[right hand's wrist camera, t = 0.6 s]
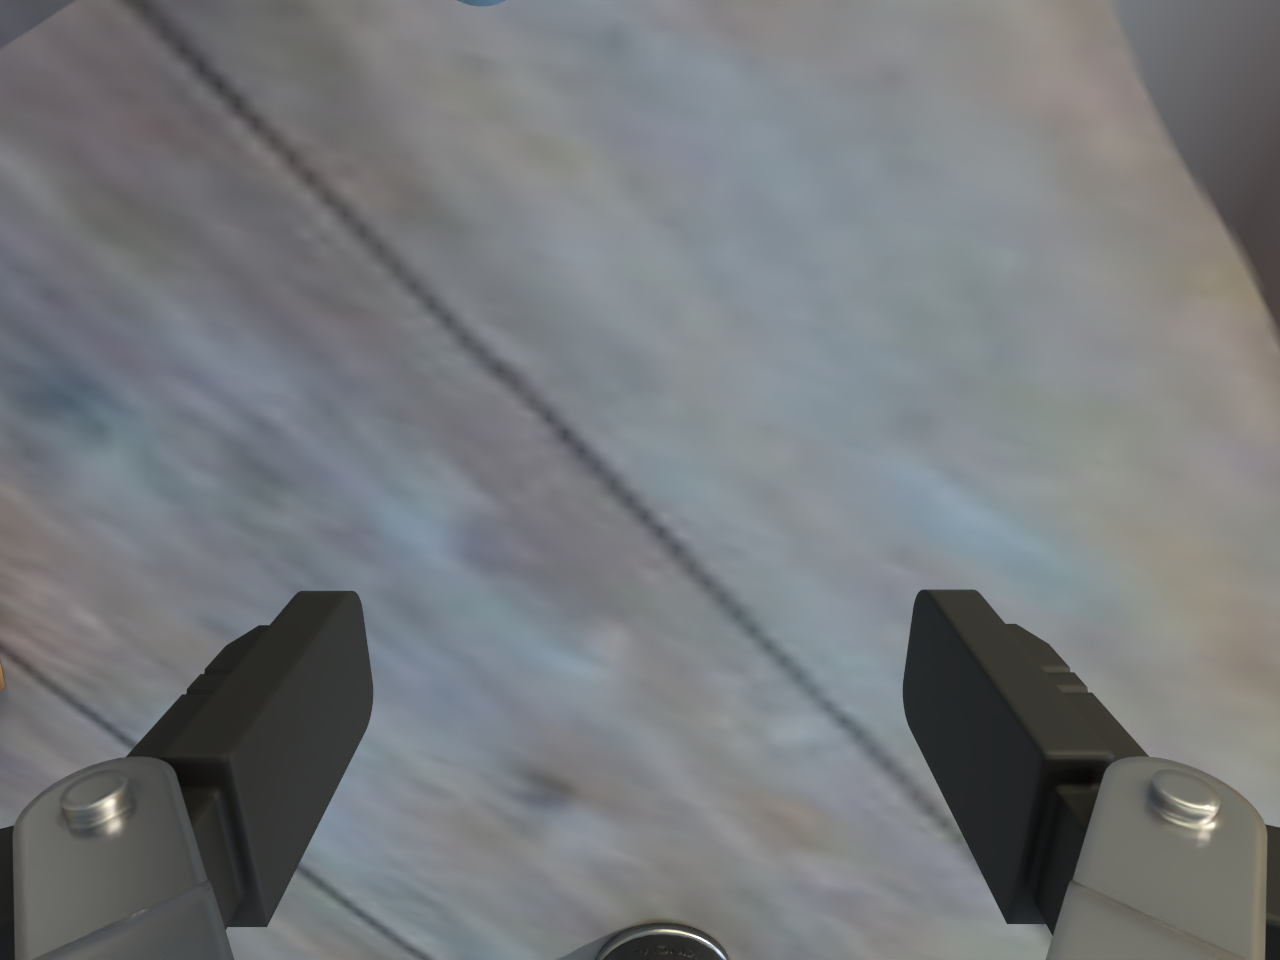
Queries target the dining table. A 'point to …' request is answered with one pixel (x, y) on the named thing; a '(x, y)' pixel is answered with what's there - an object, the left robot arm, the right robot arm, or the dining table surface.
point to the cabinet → (1, 679)
